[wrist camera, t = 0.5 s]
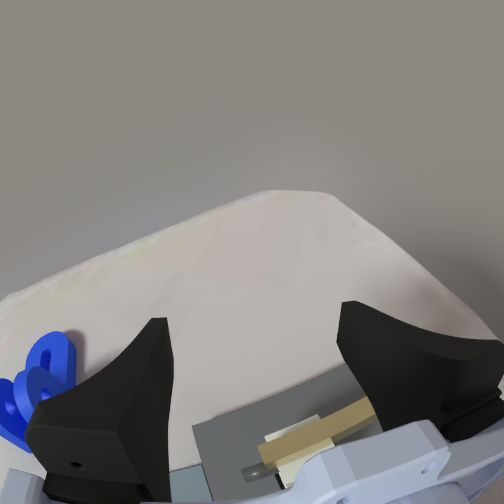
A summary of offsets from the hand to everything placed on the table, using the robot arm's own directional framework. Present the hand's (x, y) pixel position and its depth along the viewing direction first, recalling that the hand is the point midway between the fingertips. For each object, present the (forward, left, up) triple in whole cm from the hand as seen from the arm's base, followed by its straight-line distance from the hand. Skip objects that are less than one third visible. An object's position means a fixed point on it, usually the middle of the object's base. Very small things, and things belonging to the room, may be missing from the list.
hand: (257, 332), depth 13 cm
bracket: (+16, +27, -18) cm, 36 cm away
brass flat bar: (-2, -5, -16) cm, 16 cm away
